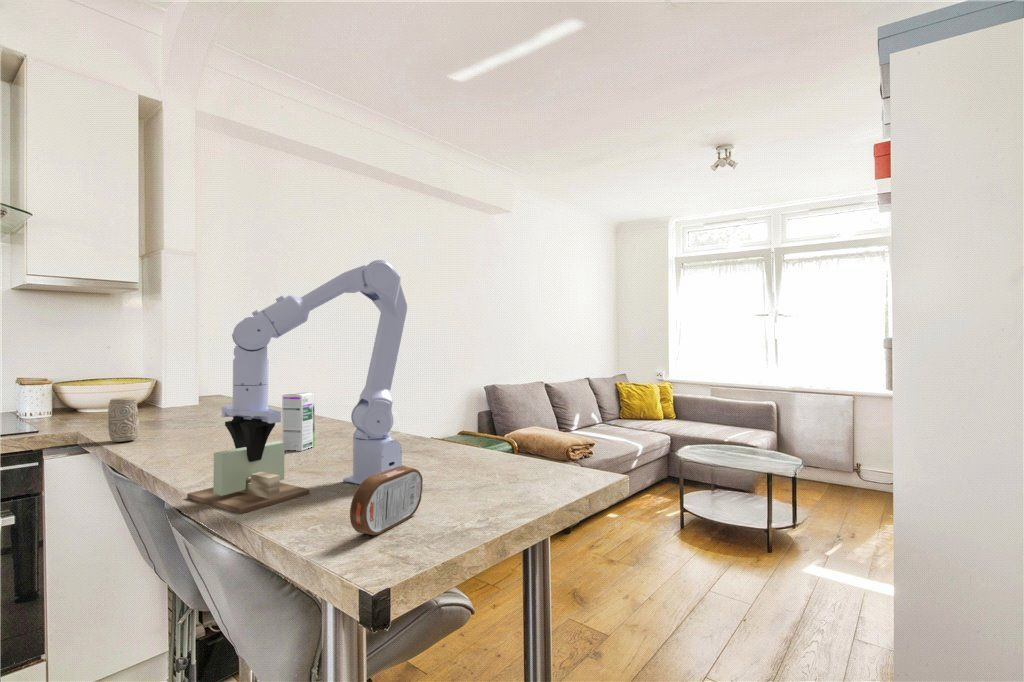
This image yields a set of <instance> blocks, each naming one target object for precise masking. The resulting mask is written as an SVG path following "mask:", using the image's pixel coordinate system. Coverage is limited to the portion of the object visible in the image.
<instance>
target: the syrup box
mask: <svg viewBox="0 0 1024 682" xmlns="http://www.w3.org/2000/svg"><path fill="white" fill-rule="evenodd" d="M281 401H282V402H281V404H282V405H281V407H282V411H281V423H282V442H284V443H285V448H284V451H287V450H296V451H295V452H303V451H306V450H309V449H312V448H314V447H316V443H315V441H316V437H315V433H316V432H315V425H316V424H315V421H316V420H315V418H316V417H315V415H316V414H315V392H308V391H307V392H306V391H302V392H293V393H287V394H283V395H282V396H281ZM311 447H312V448H311ZM308 448H309V449H308Z"/></svg>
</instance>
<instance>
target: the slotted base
mask: <svg viewBox="0 0 1024 682" xmlns="http://www.w3.org/2000/svg"><path fill="white" fill-rule="evenodd" d="M280 481H281V480H280V476H279V475H275V474H270V473H265V472H258V473H254V474H251V477H248V478H246V489H245V490H242V491H238V492H234V493H230V494H226V495H223V496H220V495H217V494H213V487H210V488H206V489H202V490H201V489H200V490H196V491H193V492H188V493H186V496H187V499H189V500H193V501H196V502H199V503H202V504H207V505H210V506H213V507H216V508H220V509H223V510H227V511H231V512H234V513H237V514H240V515H243V514H246V513H250V512H254V511H256V510H260V509H262V508H266V507H270V506H272V505H275V504H279V503H283V502H285V501H289V500H292V499H293V500H294V499H295V498H298V497H299V498H300V497H302V496H303V497H304V496H305V495H308V494H309V495H310V491H311V490H310V488H307V487H301V486H298V485H293V484H289V483H285V482H280Z"/></svg>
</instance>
